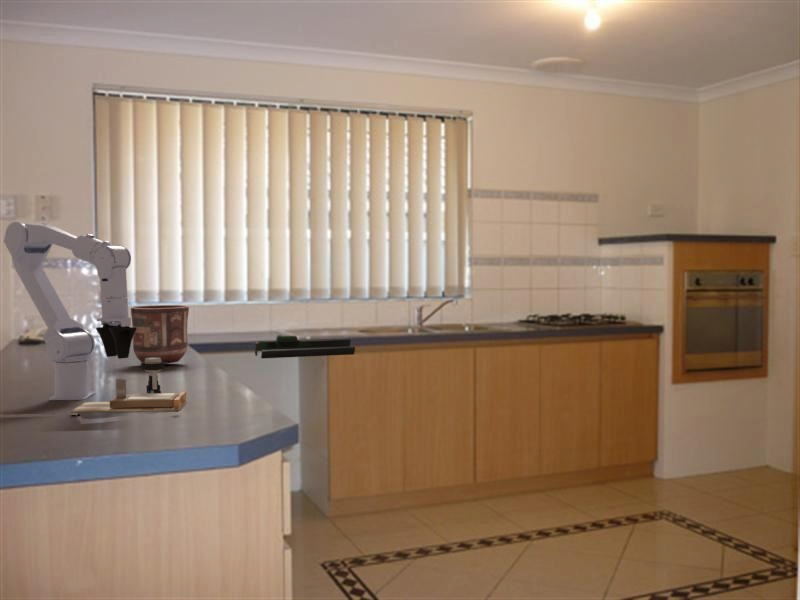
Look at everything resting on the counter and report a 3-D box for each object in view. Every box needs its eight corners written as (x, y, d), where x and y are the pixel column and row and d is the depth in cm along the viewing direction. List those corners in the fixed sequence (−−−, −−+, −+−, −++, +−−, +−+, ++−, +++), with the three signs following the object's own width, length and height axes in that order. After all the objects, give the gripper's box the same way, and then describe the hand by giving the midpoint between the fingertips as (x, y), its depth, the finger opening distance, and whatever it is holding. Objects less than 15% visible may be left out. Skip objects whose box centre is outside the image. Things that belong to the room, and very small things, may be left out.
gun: (356, 361, 277) (359, 341, 273) (257, 365, 264) (259, 345, 260) (351, 351, 282) (354, 332, 279) (253, 355, 269) (255, 335, 265)
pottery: (172, 365, 246) (171, 308, 245) (121, 364, 249) (120, 307, 249) (198, 359, 263) (197, 305, 262) (150, 357, 267) (149, 304, 266)
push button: (169, 402, 181) (168, 359, 181) (145, 404, 179) (144, 360, 178) (162, 398, 187) (162, 356, 187) (139, 400, 184) (138, 357, 184)
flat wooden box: (85, 406, 176) (85, 393, 176) (186, 404, 179) (186, 391, 179) (70, 416, 165) (70, 401, 165) (178, 413, 168) (178, 399, 168)
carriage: (118, 401, 176) (118, 376, 175) (178, 400, 177) (178, 375, 177) (109, 407, 168) (109, 382, 167) (172, 406, 169) (172, 381, 169)
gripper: (86, 299, 184) (89, 357, 184) (107, 298, 172) (110, 360, 173) (116, 297, 188) (119, 354, 188) (138, 297, 177) (142, 357, 177)
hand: (117, 357), depth 181 cm, fingers open, 7 cm apart
